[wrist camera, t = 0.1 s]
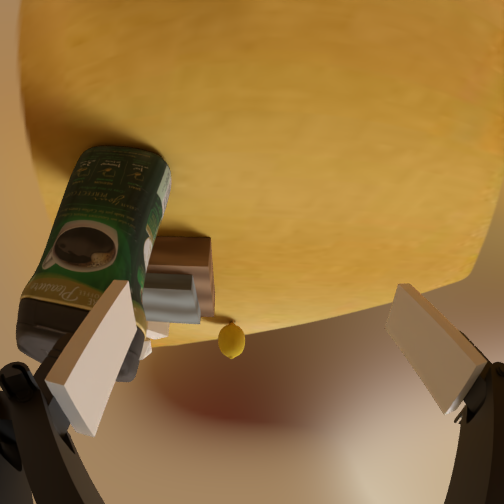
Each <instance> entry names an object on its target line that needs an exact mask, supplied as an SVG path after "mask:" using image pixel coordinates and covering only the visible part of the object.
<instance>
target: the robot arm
mask: <svg viewBox="0 0 504 504" xmlns="http://www.w3.org/2000/svg"><path fill="white" fill-rule="evenodd" d="M385 329H386V331H387V332H388V333H389V335H390V336H391V337H392V339H393V340H394V341H395V343H396V344H397V346H398V347H399V348H400V350H401V351H402V353H403V354H404V356H405V357H406V358H407V360H408V361H409V363H410V364H411V365H412V367H413V368H414V370H415V371H416V373H417V374H418V376H419V377H420V379H421V380H422V382H423V383H424V385H425V386H426V388H427V389H428V391H429V392H430V394H431V395H432V397H433V398H434V400H435V401H436V403H437V404H438V406H439V408H440V409H441V411H442V412H443V414H444V415H445V414H448V413H450V412H452V411H455V410H456V409H457V408H458V407H459V405H460V404H461V402H462V401H463V400H464V402H465V403H466V405H465V407H464V408H463V409H462V411H461V412H460V413H459V414H458V416H457V417H456V418H455V420H454V423H456V422H457V421H458V419H459V418H460V417H462V419H461V421H460V422H459V424H461V427H460V436H459V441H458V448H457V453H456V458H455V463H454V468H453V472H452V477H451V481H450V485H449V489H448V492H447V496H446V499H445V502H444V504H504V363H501V362H495V363H493V364H492V363H491V362H490V361H489V360H488V359H487V358H486V357H485V356H484V355H483V353H482V352H481V351H480V350H479V349H478V348H477V347H476V346H474V344H473V343H472V342H471V341H469V339H468V338H467V337H466V336H465V335H464V333H462V332H461V331H459V330H458V329H456V328H455V327H454V326H453V325H452V324H451V323H450V322H449V321H448V320H447V319H446V318H445V317H444V316H443V315H442V314H441V313H440V312H439V311H438V310H437V309H436V308H435V307H434V306H433V305H432V304H431V303H430V302H429V301H428V300H427V299H426V298H425V297H423V296H422V295H421V294H420V293H419V292H418V291H417V290H416V289H415V288H414V287H413V286H412V285H410V284H398V286H397V290H396V293H395V297H394V300H393V304H392V307H391V310H390V313H389V316H388V319H387V322H386V325H385ZM136 331H137V327H136V321H135V316H134V311H133V305H132V299H131V293H130V287H129V281H126V280H113V282H112V283H111V284H110V286H109V287H108V288H107V289H106V291H105V292H104V293H103V295H102V296H101V297H100V299H99V300H98V301H97V303H96V304H95V305H94V307H93V308H92V309H91V311H90V312H89V314H88V315H87V316H86V318H85V319H84V321H83V322H82V323H81V325H80V326H79V328H78V329H77V331H76V332H75V333H74V334H72V333H66V334H65V335H64V336H62V337H61V338H60V339H58V340H57V342H56V343H55V345H54V346H53V348H52V350H50V352H49V353H48V356H47V357H46V358H45V359H44V361H43V362H42V364H41V365H40V367H39V368H38V370H37V371H36V373H35V374H34V376H33V375H32V373H31V372H30V370H29V368H28V366H27V365H26V364H24V363H22V362H12V363H10V364H7V365H6V366H4V367H3V368H2V369H1V370H0V386H1V388H2V390H3V391H0V504H33V499H32V493H33V496H34V499H35V501H36V504H105V503H104V501H103V500H102V498H101V496H100V495H99V493H98V491H97V489H96V488H95V486H94V484H93V482H92V480H91V479H90V477H89V475H88V473H87V471H86V469H85V467H84V465H83V463H82V461H81V459H80V457H79V455H78V452H77V450H76V448H75V446H74V443H73V441H72V439H71V436H70V434H69V433H68V431H67V429H68V427H69V425H70V424H71V425H72V426H73V428H74V430H75V431H76V432H77V433H81V434H85V435H88V436H92V437H95V434H96V431H97V428H98V426H99V423H100V420H101V417H102V414H103V412H104V409H105V406H106V404H107V401H108V398H109V396H110V393H111V391H112V388H113V385H114V383H115V380H116V378H117V375H118V373H119V370H120V368H121V366H122V363H123V361H124V358H125V356H126V354H127V351H128V349H129V347H130V344H131V342H132V340H133V338H134V335H135V333H136ZM31 491H32V492H31Z"/></svg>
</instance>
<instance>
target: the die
mask: <svg viewBox="0 0 504 504" xmlns="http://www.w3.org/2000/svg"><path fill="white" fill-rule="evenodd" d="M151 352H152V350H151V342H150V339H149V338H148V337H146V338H145V340H144V344H143V348H142V352H141V356H140V359H139V360H142V359H144V358H145V357H146V356H147V355H149V354H150V353H151Z"/></svg>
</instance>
